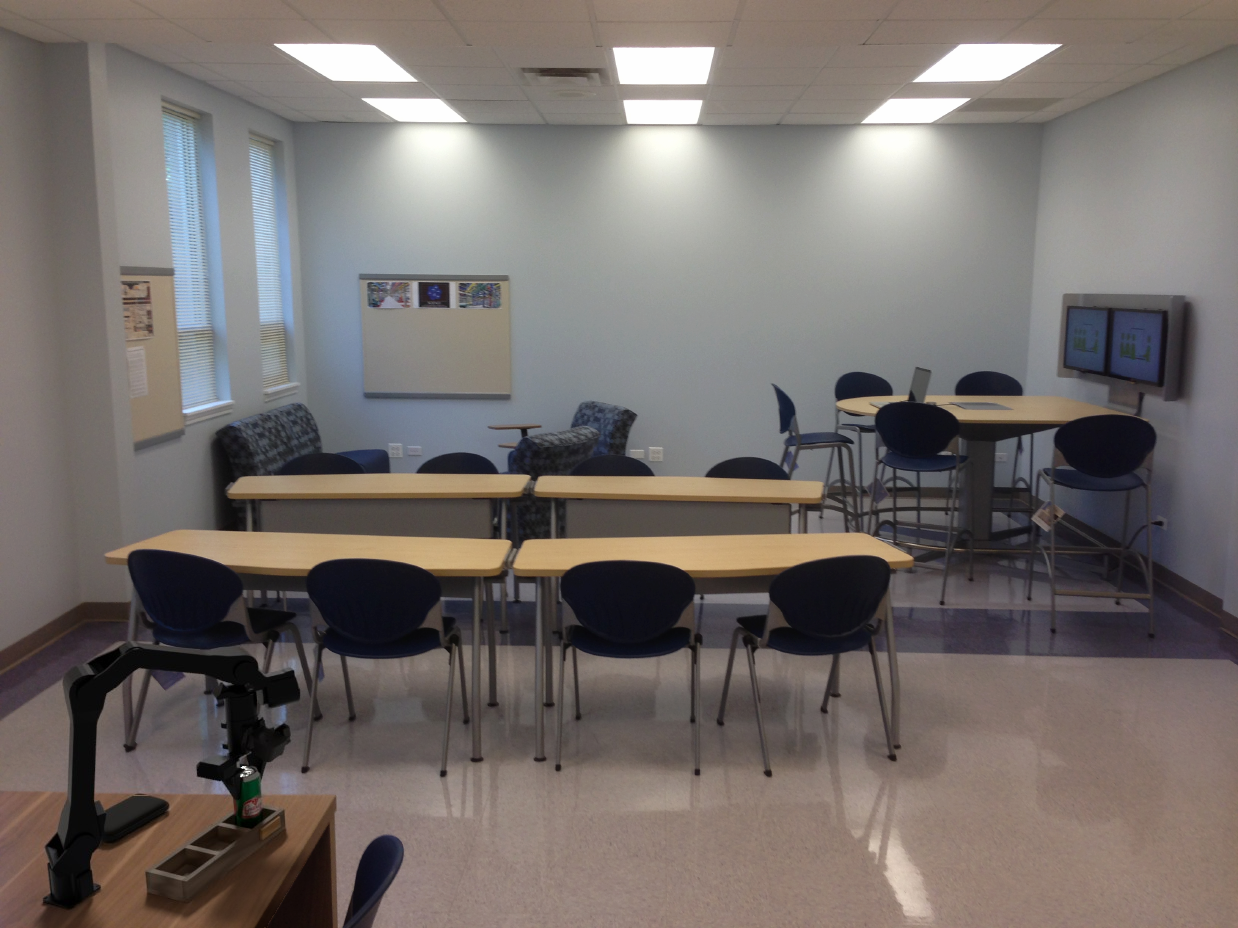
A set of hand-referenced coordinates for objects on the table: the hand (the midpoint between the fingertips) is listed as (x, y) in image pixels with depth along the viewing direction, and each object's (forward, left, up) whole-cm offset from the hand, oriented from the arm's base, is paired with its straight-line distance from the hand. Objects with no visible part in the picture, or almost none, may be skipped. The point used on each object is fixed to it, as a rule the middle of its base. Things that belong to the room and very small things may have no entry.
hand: (247, 792), depth 182 cm
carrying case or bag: (-27, -4, -10) cm, 29 cm away
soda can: (0, 0, -8) cm, 8 cm away
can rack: (0, -8, -9) cm, 12 cm away
